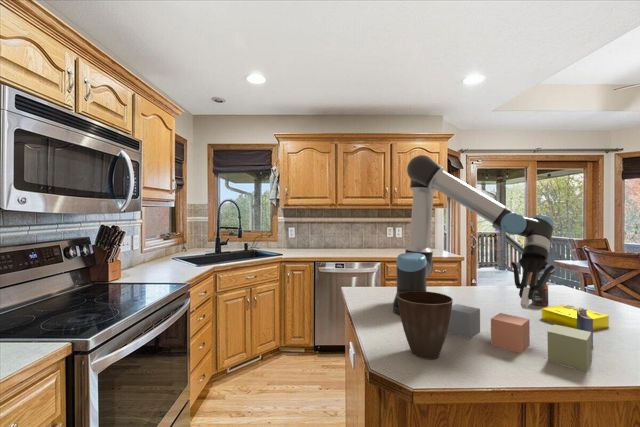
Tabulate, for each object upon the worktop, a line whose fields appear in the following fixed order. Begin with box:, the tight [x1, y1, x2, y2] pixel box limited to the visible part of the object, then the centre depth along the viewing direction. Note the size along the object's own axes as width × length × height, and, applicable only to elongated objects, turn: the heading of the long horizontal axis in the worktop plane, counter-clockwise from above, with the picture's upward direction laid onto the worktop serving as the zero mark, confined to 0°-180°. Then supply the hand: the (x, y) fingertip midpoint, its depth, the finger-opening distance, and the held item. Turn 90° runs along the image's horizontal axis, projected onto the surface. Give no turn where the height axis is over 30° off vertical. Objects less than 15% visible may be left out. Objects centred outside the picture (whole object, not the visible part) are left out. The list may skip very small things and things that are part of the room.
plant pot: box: [397, 290, 454, 360], centre depth 87 cm, size 15×15×16 cm
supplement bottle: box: [531, 277, 549, 307], centre depth 134 cm, size 6×6×11 cm
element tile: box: [541, 304, 610, 331], centre depth 112 cm, size 15×15×5 cm
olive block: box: [547, 323, 593, 373], centre depth 82 cm, size 8×8×8 cm
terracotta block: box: [490, 312, 531, 354], centre depth 92 cm, size 8×8×8 cm
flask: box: [577, 307, 594, 350], centre depth 93 cm, size 9×3×11 cm, turn 151°
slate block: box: [447, 303, 481, 339], centre depth 102 cm, size 8×8×8 cm
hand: (523, 306), depth 99 cm, fingers closed
